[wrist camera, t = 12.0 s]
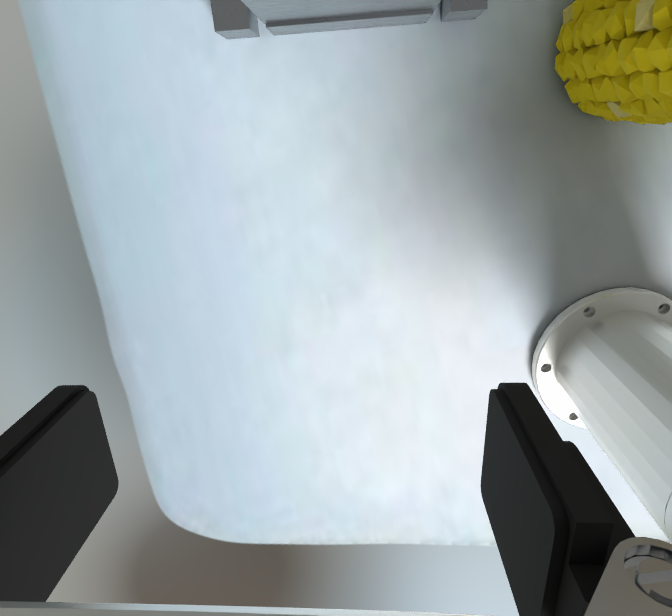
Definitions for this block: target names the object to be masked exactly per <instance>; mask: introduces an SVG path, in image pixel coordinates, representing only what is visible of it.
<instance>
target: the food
mask: <svg viewBox="0 0 672 616" xmlns="http://www.w3.org/2000/svg"><path fill="white" fill-rule="evenodd" d="M555 46H556V47H557V49H558V50H559V51H560V53H559V54H558V55H557V56H556V58H555V68H554V69H555V70H556V72H557V73H558V74H559V76H560V77H561V79H562V80H563V81H564V82H565V81H567V80H569V79H570V80H569V81H568V82H567V83H566V84H565V89H566V91H567V93H568V95H569V97H570V99H571V101H572V103H579V104H578V107H579V108H580V109H581V110H582V111H583V112H585V113H588V114H591V115H595V116H598V117H601V116H602V117H603V118H604V119H605V120H607V121H611V120H612V121H613V122H615V121H620V120H624V121H633V122H635V123H639V124H647V123H651V124H663V125H664V124H666V123H667V122H669V123H672V0H575V1H574V2H573V3H571V4H570V5H569V6H568V7H567V8H565V9H564V10H563V24H562V27H561V30H560V33H559V36H558V39H557V42H556V45H555Z"/></svg>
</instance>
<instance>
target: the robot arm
mask: <svg viewBox="0 0 672 616" xmlns="http://www.w3.org/2000/svg"><path fill="white" fill-rule="evenodd" d="M532 378H533V382H534V385H535V388H536V391H537V393H538V394H539V396H540V398H541V399H542V401H543V402H544V404H545V405H546V406H547V408H548V409H549V410H550V411H551V412H552V413H553V414H555V415H556V416H557V417H558V418H560V419H561V420H563V421H565V422H567V423H569V424H572V425H575V426H578V427H581V428H586V429H587V430H588V431H589V433H590V434H591V435H592V437H593V438H594V439H595V441H596V442H597V443H598V445H599V446H600V447H601V449H602V450H603V452H604V453H605V454H606V456H607V457H608V458H609V460H610V461H611V462H612V464H613V465H614V466H615V468H616V469H617V471H618V472H619V473H620V475H621V476H622V477H623V479H624V480H625V481H626V483H627V484H628V485H629V487H630V488H631V490H632V491H633V492H634V494H635V495H636V496H637V498H638V499H639V500H640V502H641V503H642V504H643V506H644V507H645V508H646V510H647V511H648V513H649V514H650V515H651V517H652V518H653V519H654V521H655V522H656V523H657V525H658V526H659V527H660V529H661V530H662V532H663V533H664V534H665V536H666V537H667V538H668V540H669V541H670V542H671V544H669V543H667V542H664V541H661V540H658V539H652V538H647V537H635V535H634V534H633V532H632V531H631V529H630V528H629V526H628V525H627V523H626V522H625V520H624V519H623V517H622V515H621V514H620V512H619V511H618V509H617V508H616V506H615V505H614V503H613V502H612V500H611V499H610V497H609V496H608V494H607V493H606V491H605V489H604V488H603V486H602V485H601V483H600V482H599V480H598V479H597V477H596V476H595V474H594V473H593V471H592V470H591V468H590V466H589V465H588V463H587V462H586V460H585V459H584V457H583V456H582V454H581V453H580V451H579V450H578V448H577V447H576V446H575V445H574V443H572V442H570V441H563V440H562V439H561V437H560V435H559V434H558V432H557V431H556V429H555V427H554V426H553V424H552V423H551V421H550V419H549V418H548V416H547V415H546V413H545V411H544V410H543V408H542V407H541V405H540V403H539V402H538V400H537V398H536V397H535V395H534V394H533V392H532V390H531V389H530V387H529V386H528V384H527V383H500V384H499V386H498V389H491V391H490V394H489V404H488V414H487V424H486V435H485V445H484V455H483V466H482V476H481V493H482V498H483V502H484V505H485V508H486V511H487V514H488V517H489V521H490V524H491V527H492V530H493V533H494V536H495V540H496V543H497V546H498V549H499V552H500V555H501V559H502V561H503V565H504V568H505V571H506V574H507V578H508V581H509V584H510V587H511V590H512V593H513V596H514V600H515V603H516V606H517V609H518V612H519V616H672V300H671V299H669V298H667V297H665V296H663V295H662V294H659V293H656V292H653V291H650V290H647V289H640V288H633V287H629V288H614V289H609V290H605V291H600V292H597V293H595V294H592V295H589V296H587V297H584V298H582V299H581V300H579V301H577V302H575V303H574V304H572V305H570V306H569V307H568V308H566V309H565V310H564V311H563V312H561V313H560V314H559V315H558V316H557V317H556V318H555V319H554V320H553V321H552V322H551V323H550V324H549V326H548V327H547V328H546V329H545V331H544V333H543V334H542V336H541V338H540V339H539V341H538V344H537V346H536V349H535V352H534V355H533V361H532ZM117 489H118V477H117V473H116V469H115V466H114V462H113V458H112V454H111V451H110V447H109V443H108V439H107V436H106V432H105V428H104V424H103V420H102V417H101V413H100V409H99V406H98V402H97V398H96V395H95V394H94V392H92V391H89V389H88V388H87V387H86V386H84V385H62V386H58V387H56V388H55V389H53V391H51V392H50V393H49V394H48V395H47V396H45V397H44V398H43V399H42V400H41V401H40V402H39V403H37V404H36V405H35V406H34V407H33V408H32V409H31V410H29V411H28V412H27V413H26V414H25V415H24V416H23V417H22V418H20V419H19V420H18V421H17V422H16V423H15V424H13V425H12V426H11V427H10V428H9V429H8V430H7V431H5V432H4V434H2V435H1V436H0V616H492V615H472V614H450V613H449V614H448V613H430V612H410V611H409V612H408V611H380V610H378V611H377V610H348V609H347V610H346V609H315V608H282V607H245V606H206V605H204V606H202V605H164V604H123V603H122V604H121V603H70V602H68V603H66V602H46V600H47V599H48V597H49V595H50V594H51V592H52V591H53V589H54V588H55V586H56V585H57V583H58V581H59V580H60V579H61V577H62V576H63V574H64V573H65V571H66V570H67V568H68V567H69V565H70V564H71V562H72V561H73V559H74V558H75V556H76V554H77V553H78V551H79V550H80V548H81V547H82V545H83V544H84V542H85V541H86V539H87V538H88V536H89V535H90V533H91V532H92V530H93V529H94V527H95V526H96V524H97V523H98V521H99V519H100V518H101V517H102V515H103V513H104V512H105V510H106V509H107V507H108V506H109V504H110V503H111V501H112V500H113V498H114V496H115V495H116V493H117Z"/></svg>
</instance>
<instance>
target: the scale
mask: <svg viewBox="0 0 672 616" xmlns="http://www.w3.org/2000/svg"><path fill="white" fill-rule="evenodd" d="M440 1H441V0H211V7H212V14H213V21H214V28H215V32H216V33H218V34H220V35H221V36H223V37H225V38H226V39H236V38H248V37H259V30H258V21H257V17H258V18H259V19H260V20H261V21H262V22H263V23H264V24H266V28H267V29H268V30H269V31H270V32H271V33H272V34H273V35H285V34H297V33H309V32H321V31H333V30H345V29H357V28H369V27H382V26H394V25H406V24H418V23H426V22H427V20H428V19H429V18H430V16H431V15H432V14H433V9H435V8H436V7H437V5H438V4H439V3H440ZM486 9H487V0H442V15H441V22H442V21H454V20H466V19H475V18H476V17H478V16H479V15H480V14H481V13H483V12H484V11H485V10H486Z"/></svg>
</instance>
